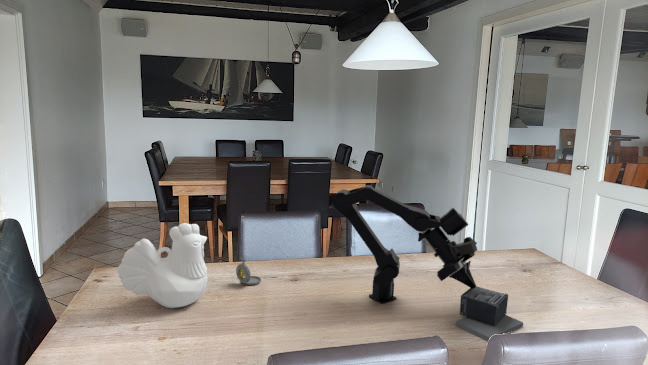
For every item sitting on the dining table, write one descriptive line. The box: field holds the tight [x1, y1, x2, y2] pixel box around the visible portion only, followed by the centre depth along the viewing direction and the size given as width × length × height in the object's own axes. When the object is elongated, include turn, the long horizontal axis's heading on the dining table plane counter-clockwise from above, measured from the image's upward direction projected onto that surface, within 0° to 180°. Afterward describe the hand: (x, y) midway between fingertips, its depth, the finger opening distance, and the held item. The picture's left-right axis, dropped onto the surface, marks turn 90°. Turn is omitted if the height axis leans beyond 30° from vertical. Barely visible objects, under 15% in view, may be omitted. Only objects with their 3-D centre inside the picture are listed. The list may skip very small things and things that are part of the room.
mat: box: [454, 314, 524, 342], centre depth 124 cm, size 16×11×1 cm
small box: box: [459, 285, 509, 326], centre depth 128 cm, size 11×6×10 cm
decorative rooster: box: [116, 222, 209, 309], centre depth 131 cm, size 25×16×25 cm, turn 107°
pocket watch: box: [235, 256, 262, 286], centre depth 150 cm, size 8×8×10 cm
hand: (475, 288), depth 129 cm, fingers closed
